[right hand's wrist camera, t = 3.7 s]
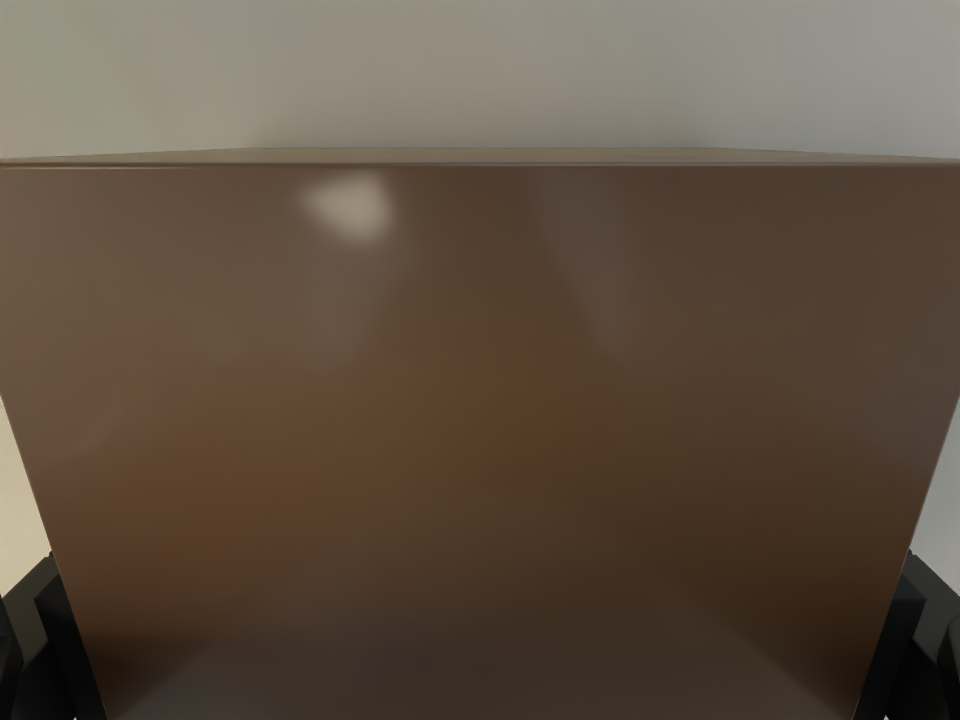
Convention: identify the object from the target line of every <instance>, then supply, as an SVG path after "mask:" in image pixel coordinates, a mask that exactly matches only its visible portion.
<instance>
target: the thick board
mask: <svg viewBox="0 0 960 720" xmlns="http://www.w3.org/2000/svg"><path fill="white" fill-rule="evenodd" d="M0 395H1V398H2V401H3V404H4V407H5V410H6V413H7V416H8V419H9V422H10V425H11V428H12V431H13V434H14V437H15V440H16V443H17V446H18V449H19V452H20V455H21V458H22V461H23V464H24V467H25V470H26V473H27V476H28V479H29V482H30V485H31V488H32V491H33V494H34V497H35V500H36V503H37V506H38V510H39V513H40V516H41V519H42V522H43V525H44V528H45V531H46V534H47V537H48V540H49V543H50V546H51V549H52V552H53V555H54V558H55V561H56V564H57V567H58V570H59V573H60V576H61V579H62V582H63V585H64V588H65V591H66V594H67V597H68V600H69V603H70V606H71V609H72V612H73V615H74V618H75V621H76V624H77V627H78V630H79V633H80V636H81V639H82V642H83V645H84V648H85V651H86V654H87V658H88V661H89V664H90V667H91V670H92V673H93V676H94V679H95V682H96V685H97V688H98V691H99V694H100V697H101V700H102V703H103V706H104V709H105V712H106V715H107V718H108V720H852V719H853V716H854V713H855V710H856V707H857V704H858V701H859V698H860V695H861V692H862V689H863V686H864V683H865V680H866V677H867V674H868V671H869V668H870V665H871V662H872V659H873V656H874V653H875V650H876V647H877V644H878V641H879V638H880V635H881V632H882V629H883V626H884V623H885V620H886V617H887V614H888V611H889V608H890V605H891V602H892V599H893V596H894V593H895V590H896V587H897V584H898V581H899V577H900V574H901V571H902V568H903V565H904V562H905V559H906V556H907V553H908V550H909V547H910V544H911V541H912V538H913V535H914V532H915V529H916V526H917V523H918V520H919V517H920V514H921V511H922V508H923V505H924V502H925V499H926V496H927V493H928V490H929V487H930V484H931V481H932V478H933V475H934V472H935V469H936V466H937V463H938V460H939V457H940V454H941V451H942V448H943V445H944V442H945V439H946V436H947V433H948V429H949V426H950V423H951V420H952V417H953V414H954V411H955V408H956V405H957V402H958V399H959V396H960V159H951V158H929V157H907V156H884V155H862V154H840V153H818V152H795V151H773V150H751V149H729V148H234V149H212V150H190V151H167V152H145V153H123V154H101V155H79V156H57V157H35V158H13V159H0Z"/></svg>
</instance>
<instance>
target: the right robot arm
mask: <svg viewBox="0 0 960 720" xmlns="http://www.w3.org/2000/svg"><path fill="white" fill-rule="evenodd" d="M885 715H886V716H887V718H888V719H889V720H960V597H959V596H958V595H957V594H956V593H955V592H954V591H953V590H952V589H951V588H950V587H949V586H948V585H947V584H946V583H945V582H944V581H943V580H942V579H941V578H940V577H939V576H937V575H936V574H935V573H934V572H933V571H932V570H931V569H930V568H929V567H928V566H927V565H926V564H925V563H924V562H923V561H922V560H921V559H920V558H919V557H918V556H917V555H912V551H911V550H910V549H909V550H908V553H907V556H906V559H905V562H904V565H903V568H902V571H901V574H900V577H899V581H898V584H897V587H896V590H895V593H894V596H893V599H892V602H891V605H890V608H889V611H888V614H887V617H886V620H885V623H884V626H883V629H882V632H881V635H880V638H879V641H878V644H877V647H876V650H875V653H874V656H873V659H872V662H871V665H870V668H869V671H868V674H867V677H866V680H865V683H864V686H863V689H862V692H861V695H860V698H859V701H858V704H857V707H856V710H855V713H854V716H853V719H852V720H884V718H885ZM75 717H76V720H108V718H107V715H106V712H105V709H104V706H103V703H102V700H101V697H100V694H99V691H98V688H97V685H96V682H95V679H94V676H93V673H92V670H91V667H90V664H89V661H88V658H87V654H86V651H85V648H84V645H83V642H82V639H81V636H80V633H79V630H78V627H77V624H76V621H75V618H74V615H73V612H72V609H71V606H70V603H69V600H68V597H67V594H66V591H65V588H64V585H63V582H62V579H61V576H60V573H59V570H58V567H57V564H56V561H55V558H54V555H53V552H52V551H51V552H50V553H49V557H45V558H43V559H42V560H41V561H40V562H39V563H38V564H37V565H36V566H35V567H34V568H33V569H32V570H31V571H30V572H29V573H28V574H27V575H26V576H25V577H24V578H23V579H22V580H21V581H20V582H19V583H18V584H16V585H15V586H14V587H13V588H12V589H11V590H10V591H9V592H8V593H7V594H6V595H5V596H4V597H3V598H2V597H1V595H0V720H74V718H75Z"/></svg>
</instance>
